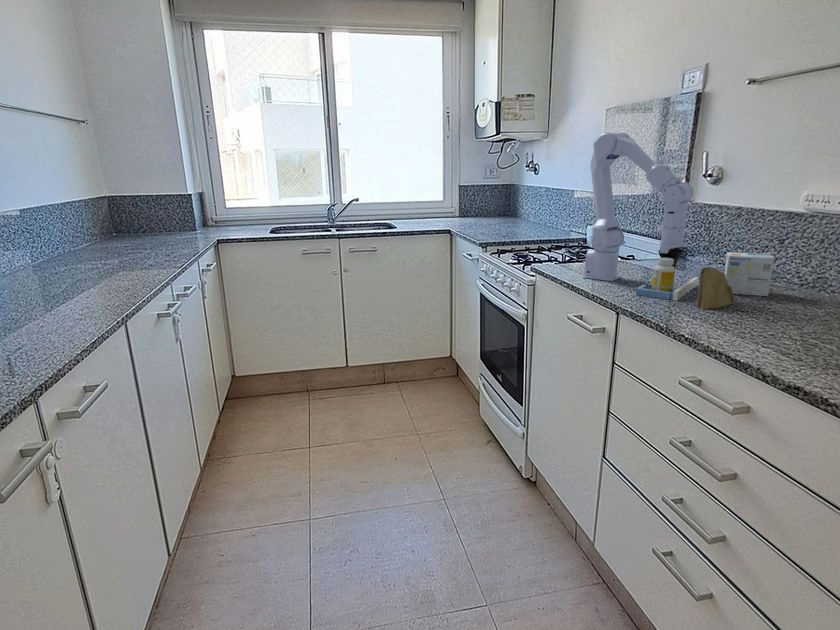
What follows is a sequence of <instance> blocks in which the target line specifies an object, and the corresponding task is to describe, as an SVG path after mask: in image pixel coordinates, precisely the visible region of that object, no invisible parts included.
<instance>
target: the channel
mask: <svg viewBox="0 0 840 630" xmlns="http://www.w3.org/2000/svg"><path fill="white" fill-rule="evenodd" d="M652 280H653V278H652V279H651V280H650V282H649V286H652ZM698 284H699V277H697V276H694V277H693V278H691V279H690V280H688V281H687V282H685V283H684V284H683V285H681V286H679V287H678V288H677V289H675V290H674V291H672V293H671V292H665V291H658V290H651V289H649V288H648V287H647V286H648V285H647V284H642V285H639V286H638V287H636V288H635V294H636V295H638V296H641V295H642V296H641V297H648V298H655V297H656V298H657V299H663V300H670V299H672V301H673V302H675V301H676V302H677V301H678V300H680V299H682V298H683V297H684V296H686V295H687V294H688V293H689V292H691V291H692V290H693V288H694V287H695V288H696V287H697V286H698ZM695 288H694V289H695ZM690 290H691V291H690ZM686 293H687V294H686ZM656 298H655V299H656Z"/></svg>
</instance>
